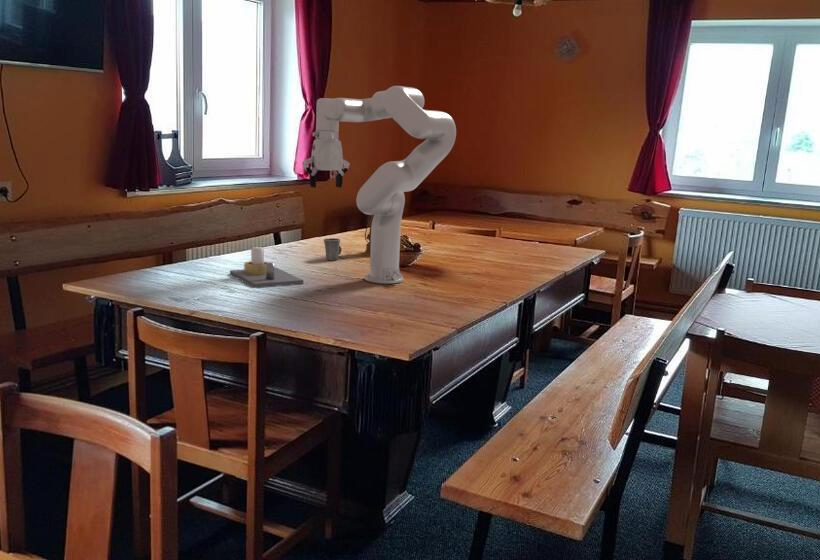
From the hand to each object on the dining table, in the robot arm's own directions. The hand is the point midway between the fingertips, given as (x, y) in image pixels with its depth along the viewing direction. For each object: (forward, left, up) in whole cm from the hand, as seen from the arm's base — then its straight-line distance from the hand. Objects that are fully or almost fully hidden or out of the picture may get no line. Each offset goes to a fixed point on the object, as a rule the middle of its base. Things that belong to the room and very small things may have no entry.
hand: (325, 187), depth 253 cm
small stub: (-15, +26, -27) cm, 40 cm away
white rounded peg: (-4, +26, -27) cm, 38 cm away
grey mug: (+17, -12, -29) cm, 35 cm away
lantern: (+21, -35, -28) cm, 50 cm away
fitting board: (-9, +25, -28) cm, 39 cm away
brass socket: (-4, +26, -27) cm, 38 cm away
